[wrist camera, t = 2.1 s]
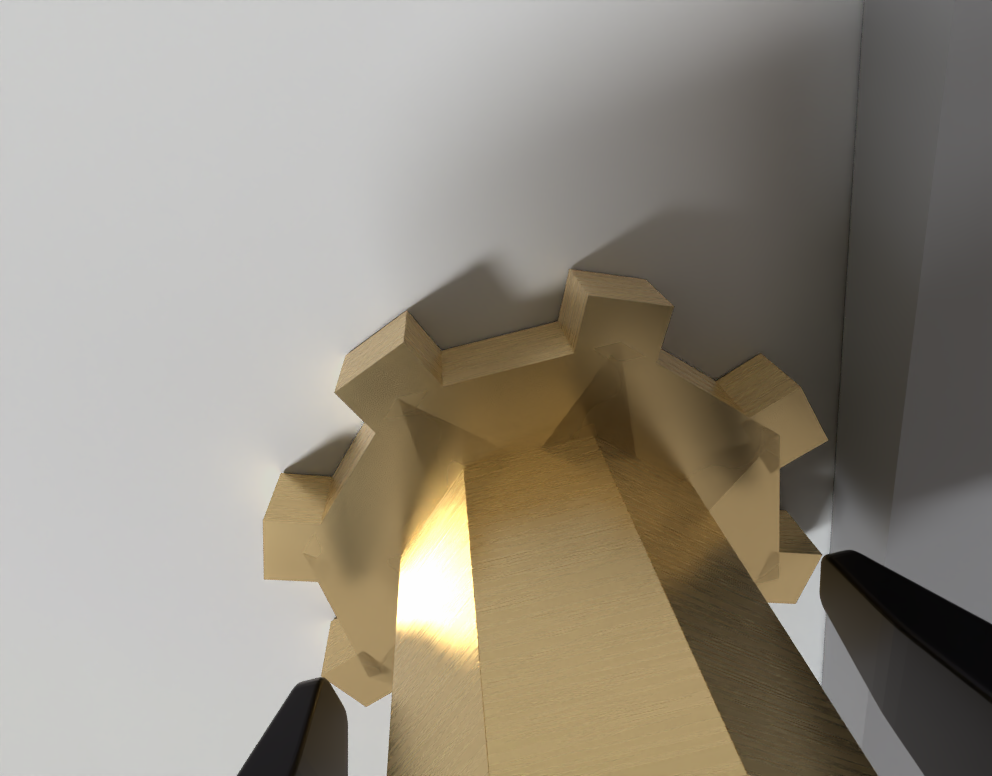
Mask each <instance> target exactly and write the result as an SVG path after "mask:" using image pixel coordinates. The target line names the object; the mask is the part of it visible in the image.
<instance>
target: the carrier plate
mask: <svg viewBox="0 0 992 776" xmlns="http://www.w3.org/2000/svg"><path fill="white" fill-rule="evenodd" d="M843 550H854V551H857V552H859V553H861V554H863V555H865V556H867V557H868V558H870V559H872V560H874V561H876V562H878V563H880V564H881V565H883V566H885V567H887V568H889V569H891V570H893V571H894V572H896V573H898V574H900V575H902V576H904V577H906V578H907V579H909V580H911V581H913V582H915V583H917V584H919V585H921V586H922V587H924V588H926V589H928V590H930V591H932V592H934V593H935V594H937V595H939V596H941V597H943V598H945V599H947V600H948V601H950V602H952V603H954V604H956V605H958V606H960V607H961V608H963V609H965V610H967V611H969V612H971V613H973V614H974V615H976V616H978V617H980V618H982V619H984V620H986V621H987V622H989V623H991V624H992V0H864V7H863V23H862V39H861V56H860V72H859V88H858V104H857V120H856V137H855V153H854V169H853V185H852V202H851V218H850V234H849V250H848V266H847V283H846V299H845V315H844V331H843V348H842V364H841V380H840V396H839V412H838V429H837V445H836V461H835V477H834V494H833V510H832V526H831V542H830V554H831V553H835V552H839V551H843ZM822 689H823V690H824V692H825V693H826V695H827V697H828V698H829V700H830V701H831V703H832V704H833V706H834V707H835V709H836V711H837V712H838V714H839V715H840V717H841V718H842V720H843V722H844V723H845V725H846V726H847V728H848V729H849V731H850V732H851V734H852V736H853V737H854V739H855V740H856V742H857V743H858V745H859V747H860V748H861V750H862V751H863V753H864V754H865V756H866V758H867V759H868V761H869V762H870V764H871V765H872V767H873V768H874V770H875V772H876V773H877V775H878V776H924V775H923V773H922V772H921V770H920V769H919V767H918V766H917V764H916V763H915V761H914V760H913V758H912V757H911V756H910V754H909V753H908V751H907V750H906V748H905V747H904V745H903V744H902V742H901V741H900V740H899V738H898V737H897V735H896V734H895V732H894V731H893V729H892V728H891V726H890V725H889V723H888V722H887V720H886V719H885V717H884V715H883V714H882V712H881V711H880V709H879V707H878V705H877V704H876V702H875V700H874V699H873V697H872V695H871V693H870V691H869V690H868V688H867V686H866V684H865V682H864V681H863V679H862V677H861V675H860V673H859V672H858V670H857V668H856V666H855V664H854V662H853V661H852V659H851V657H850V655H849V653H848V652H847V650H846V648H845V646H844V644H843V643H842V641H841V639H840V637H839V635H838V633H837V632H836V630H835V628H834V626H833V624H832V623H831V621H830V619H829V617H828V615H827V614H826V623H825V640H824V656H823V672H822Z"/></svg>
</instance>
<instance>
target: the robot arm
mask: <svg viewBox="0 0 992 776" xmlns="http://www.w3.org/2000/svg"><path fill="white" fill-rule="evenodd" d="M820 599H821V602H822V605H823V608H824V610H825V612H826V614H827V615H828V617H829V619H830V621H831V623H832V624H833V626H834V628H835V630H836V632H837V633H838V635H839V637H840V639H841V641H842V643H843V644H844V646H845V648H846V650H847V652H848V653H849V655H850V657H851V659H852V661H853V662H854V664H855V666H856V668H857V670H858V672H859V673H860V675H861V677H862V679H863V681H864V682H865V684H866V686H867V688H868V690H869V691H870V693H871V695H872V697H873V699H874V700H875V702H876V704H877V705H878V707H879V709H880V711H881V712H882V714H883V715H884V717H885V719H886V720H887V722H888V723H889V725H890V726H891V728H892V729H893V731H894V732H895V734H896V735H897V737H898V738H899V740H900V741H901V742H902V744H903V745H904V747H905V748H906V750H907V751H908V753H909V754H910V756H911V757H912V758H913V760H914V761H915V763H916V764H917V766H918V767H919V769H920V770H921V772H922V773H923V775H924V776H992V624H991V623H989V622H987V621H986V620H984V619H982V618H980V617H978V616H976V615H974V614H973V613H971V612H969V611H967V610H965V609H963V608H961V607H960V606H958V605H956V604H954V603H952V602H950V601H948V600H947V599H945V598H943V597H941V596H939V595H937V594H935V593H934V592H932V591H930V590H928V589H926V588H924V587H922V586H921V585H919V584H917V583H915V582H913V581H911V580H909V579H907V578H906V577H904V576H902V575H900V574H898V573H896V572H894V571H893V570H891V569H889V568H887V567H885V566H883V565H881V564H880V563H878V562H876V561H874V560H872V559H870V558H868V557H867V556H865V555H863V554H861V553H859V552H857V551H854V550H843V551H839V552H835V553H831V554H827V555H825V556H824V557H823V558H822V561H821V574H820ZM237 776H348V721H347V715H346V711H345V708H344V706H343V705H342V703H341V701H340V699H339V698H338V696H337V694H336V693H335V691H334V689H333V687H332V686H331V684H330V682H329V681H328V680H327V679H326V678H324V677H319V678H315V679H311V680H307V681H303V682H300V683H298V684H297V685H296V686H295V687H294V688H293V690H292V691H291V693H290V694H289V696H288V697H287V699H286V700H285V702H284V704H283V705H282V707H281V708H280V710H279V711H278V713H277V714H276V716H275V717H274V719H273V720H272V722H271V724H270V725H269V727H268V728H267V730H266V731H265V733H264V734H263V736H262V737H261V739H260V741H259V742H258V744H257V745H256V747H255V748H254V750H253V751H252V753H251V754H250V756H249V758H248V759H247V761H246V762H245V764H244V765H243V767H242V768H241V770H240V771H239V773H238V775H237Z"/></svg>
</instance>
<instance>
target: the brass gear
mask: <svg viewBox="0 0 992 776" xmlns="http://www.w3.org/2000/svg"><path fill="white" fill-rule="evenodd" d="M673 309H674V306H673V305H672V304H671V303H670V302H669V301H668V300H667V299H666V298H665V297H664V296H662V295H661V294H660V293H659V292H658V291H657V290H656V289H655V288H654V287H653V286H652V285H651V284H650V283H649V282H648V281H647V280H646V279H639V278H632V277H624V276H617V275H610V274H603V273H595V272H588V271H581V270H574V269H569V272H568V276H567V281H566V285H565V290H564V294H563V299H562V303H561V307H560V312H559V316H558V321H557V322H553V323H549V324H545V325H541V326H537V327H533V328H529V329H525V330H521V331H517V332H513V333H509V334H505V335H501V336H497V337H494V338H490V339H486V340H482V341H478V342H474V343H470V344H466V345H462V346H458V347H454V348H450V349H446V350H442V351H441V350H440V348H439V347H438V346H437V345H436V344H435V343H434V341H433V340H432V339H431V338H430V337H429V336H428V334H427V333H426V332H425V331H424V330H423V329H422V327H421V326H420V325H419V324H418V323H417V322H416V320H415V319H414V318H413V317H412V316H411V315H410V313H409V312H408V311H405V312H404V313H402V314H401V315H400V316H398V317H397V318H396V319H394V320H393V321H392V322H390V323H389V324H388V325H386V326H385V327H384V328H382V329H381V330H380V331H378V332H377V333H375V334H374V335H373V336H371V337H370V338H369V339H367V340H366V341H365V342H363V343H362V344H361V345H359V346H358V347H357V348H355V349H354V350H353V351H351V352H350V353H348V354H347V355H346V356H345V360H344V363H343V366H342V369H341V373H340V376H339V379H338V382H337V386H336V389H335V392H334V393H335V394H336V395H337V396H338V397H339V398H340V399H341V400H342V401H343V402H344V403H345V404H346V405H347V406H348V407H349V408H351V409H352V410H353V411H354V412H355V413H356V414H357V415H358V416H359V417H360V418H361V419H362V420H363V421H364V424H363V426H362V427H361V429H360V431H359V432H358V434H357V436H356V437H355V439H354V441H353V442H352V444H351V446H350V448H349V449H348V451H347V453H346V454H345V456H344V458H343V459H342V461H341V463H340V464H339V466H338V468H337V469H336V471H335V473H334V474H333V476H332V477H326V476H312V475H299V474H285V473H281V474H280V477H279V479H278V482H277V485H276V487H275V490H274V493H273V495H272V498H271V501H270V503H269V506H268V509H267V511H266V514H265V516H264V519H263V553H264V579H268V580H290V581H311V582H318V583H319V585H320V586H321V588H322V590H323V592H324V594H325V596H326V598H327V600H328V602H329V603H330V605H331V607H332V609H333V611H334V613H335V615H336V617H337V618H336V619H334V620H333V621H331V625H330V630H329V636H328V641H327V647H326V652H325V658H324V663H323V669H322V674H321V676H322V677H324V678H326V679H327V680H328V681H329V682H330V683H332V684H333V685H335V686H336V687H338V688H339V689H341V690H342V691H344V692H345V693H346V694H348V695H349V696H351V697H352V698H354V699H355V700H357V701H358V702H360V703H361V704H363V705H364V706H366V707H367V706H369V705H371V704H372V703H374V702H376V701H377V700H379V699H381V698H383V697H384V696H386V695H388V694H390V693H391V692H392V703H391V719H390V735H389V750H388V766H387V776H878V775H877V773H876V772H875V770H874V768H873V767H872V765H871V764H870V762H869V761H868V759H867V758H866V756H865V754H864V753H863V751H862V750H861V748H860V747H859V745H858V743H857V742H856V740H855V739H854V737H853V736H852V734H851V732H850V731H849V729H848V728H847V726H846V725H845V723H844V722H843V720H842V718H841V717H840V715H839V714H838V712H837V711H836V709H835V707H834V706H833V704H832V703H831V701H830V700H829V698H828V697H827V695H826V693H825V692H824V690H823V689H822V687H821V686H820V684H819V682H818V681H817V679H816V678H815V676H814V675H813V673H812V672H811V670H810V668H809V667H808V665H807V664H806V662H805V661H804V659H803V657H802V656H801V654H800V653H799V651H798V650H797V648H796V646H795V645H794V643H793V642H792V640H791V639H790V637H789V636H788V634H787V632H786V631H785V629H784V628H783V626H782V625H781V623H780V621H779V620H778V618H777V617H776V615H775V614H774V612H773V611H772V609H771V607H770V606H769V604H768V603H788V604H796V602H797V600H798V598H799V597H800V595H801V593H802V591H803V589H804V587H805V586H806V584H807V582H808V580H809V578H810V576H811V575H812V573H813V571H814V569H815V567H816V565H817V564H818V562H819V560H820V558H821V556H822V554H821V553H820V552H819V550H818V549H817V548H816V547H815V545H814V544H813V543H812V542H811V541H810V539H809V538H808V537H807V536H806V534H805V533H804V532H803V531H802V530H801V528H800V527H799V526H798V525H797V523H796V522H795V521H794V520H793V519H792V517H791V516H790V515H789V514H788V512H787V511H784V510H779V506H780V468H781V467H783V466H785V465H787V464H788V463H790V462H792V461H793V460H795V459H797V458H799V457H800V456H802V455H804V454H806V453H807V452H809V451H811V450H813V449H814V448H816V447H818V446H819V445H821V444H823V443H825V442H826V441H828V439H827V437H826V435H825V433H824V431H823V429H822V427H821V425H820V423H819V421H818V419H817V417H816V415H815V413H814V411H813V410H812V408H811V406H810V404H809V402H808V400H807V398H806V396H805V394H804V392H803V390H802V388H801V387H800V386H799V385H798V384H797V383H796V382H794V381H793V380H792V379H791V378H790V377H788V376H787V375H786V374H785V373H784V372H783V371H781V370H780V369H779V368H778V367H777V366H775V365H774V364H773V363H772V362H771V361H769V360H768V359H767V358H766V357H765V356H763V355H762V354H761V353H760V354H759V355H757V356H755V357H754V358H752V359H751V360H749V361H747V362H746V363H744V364H743V365H741V366H739V367H738V368H736V369H735V370H733V371H731V372H730V373H728V374H727V375H725V376H723V377H722V378H720V379H719V380H717V381H715V380H713V379H711V378H710V377H708V376H706V375H705V374H703V373H701V372H700V371H698V370H696V369H695V368H693V367H691V366H690V365H688V364H686V363H685V362H683V361H681V360H680V359H678V358H676V357H674V356H673V355H671V354H669V353H668V352H666V351H664V350H663V349H661V347H662V344H663V341H664V337H665V334H666V331H667V328H668V325H669V322H670V319H671V315H672V312H673Z"/></svg>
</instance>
